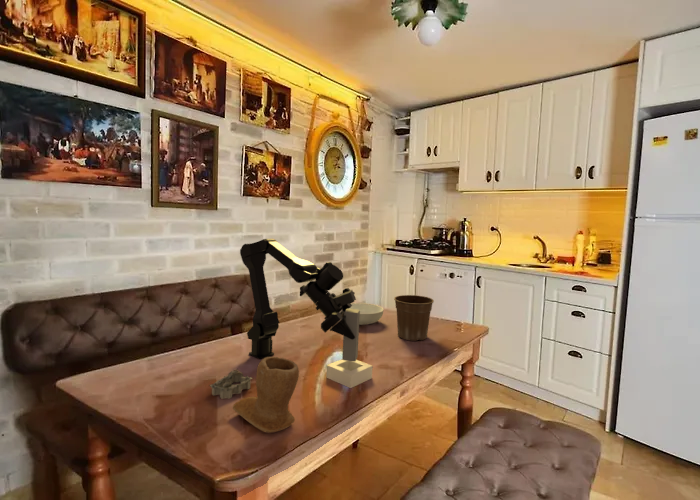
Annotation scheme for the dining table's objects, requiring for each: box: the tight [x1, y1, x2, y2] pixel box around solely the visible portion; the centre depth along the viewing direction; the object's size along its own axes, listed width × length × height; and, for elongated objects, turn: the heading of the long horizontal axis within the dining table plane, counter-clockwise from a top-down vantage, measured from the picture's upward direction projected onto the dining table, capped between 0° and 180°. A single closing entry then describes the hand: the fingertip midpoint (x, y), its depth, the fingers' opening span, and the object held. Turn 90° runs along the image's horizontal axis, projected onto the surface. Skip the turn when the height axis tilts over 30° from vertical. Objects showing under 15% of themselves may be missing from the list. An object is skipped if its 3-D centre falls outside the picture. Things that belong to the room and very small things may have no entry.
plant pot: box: [393, 294, 435, 342], centre depth 163 cm, size 16×16×16 cm
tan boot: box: [232, 356, 300, 433], centre depth 94 cm, size 15×12×15 cm
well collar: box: [325, 358, 373, 389], centre depth 120 cm, size 10×10×4 cm
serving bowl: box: [349, 302, 384, 326], centre depth 182 cm, size 21×21×7 cm
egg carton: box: [209, 368, 254, 400], centre depth 109 cm, size 11×8×4 cm
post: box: [341, 309, 360, 361], centre depth 119 cm, size 4×4×15 cm
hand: (355, 336), depth 119 cm, fingers closed on post, 4 cm apart
